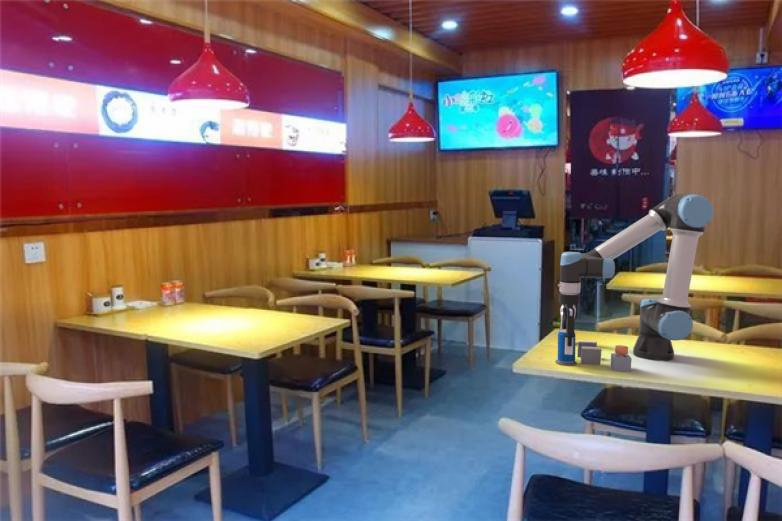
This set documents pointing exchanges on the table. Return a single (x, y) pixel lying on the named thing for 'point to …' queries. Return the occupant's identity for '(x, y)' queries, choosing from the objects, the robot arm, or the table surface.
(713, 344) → the table surface
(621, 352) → the plunger
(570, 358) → the beverage can
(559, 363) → the pad
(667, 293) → the robot arm
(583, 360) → the cradle
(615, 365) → the block
